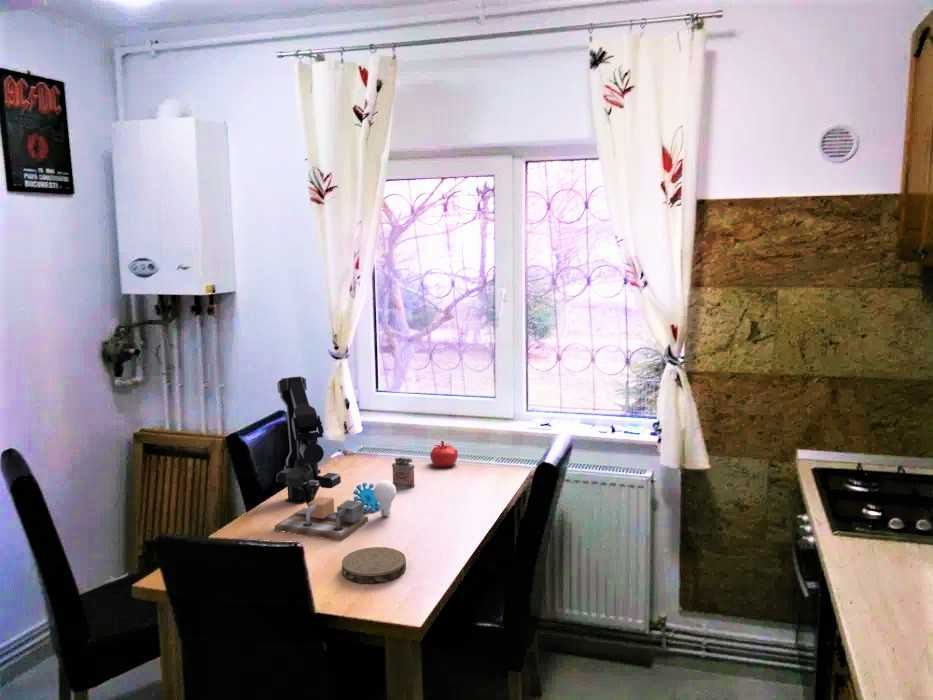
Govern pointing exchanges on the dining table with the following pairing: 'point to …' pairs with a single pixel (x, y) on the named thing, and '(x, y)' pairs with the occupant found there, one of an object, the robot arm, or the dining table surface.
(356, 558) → the brown round disc
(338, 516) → the base
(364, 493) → the gear
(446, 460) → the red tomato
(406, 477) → the flat bottle
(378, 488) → the light bulb
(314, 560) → the dining table surface
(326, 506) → the sliding jaw
